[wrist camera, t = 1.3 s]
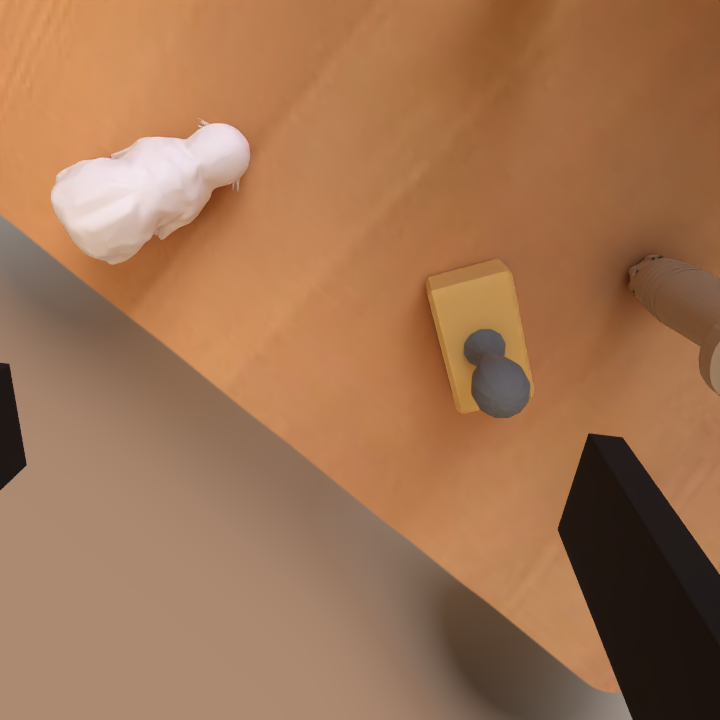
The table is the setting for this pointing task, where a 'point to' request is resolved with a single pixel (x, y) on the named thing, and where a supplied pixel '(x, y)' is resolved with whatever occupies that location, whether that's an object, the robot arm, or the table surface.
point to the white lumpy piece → (146, 189)
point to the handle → (683, 305)
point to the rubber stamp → (482, 338)
